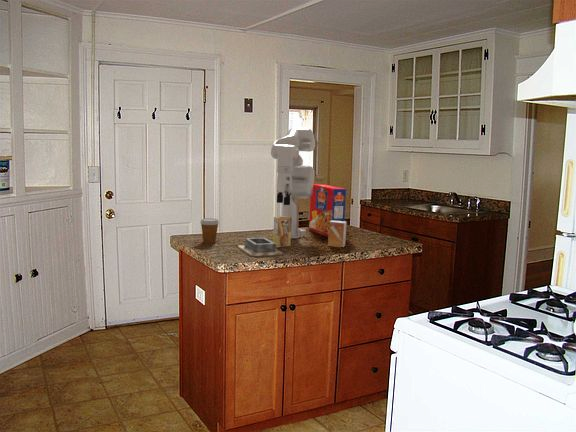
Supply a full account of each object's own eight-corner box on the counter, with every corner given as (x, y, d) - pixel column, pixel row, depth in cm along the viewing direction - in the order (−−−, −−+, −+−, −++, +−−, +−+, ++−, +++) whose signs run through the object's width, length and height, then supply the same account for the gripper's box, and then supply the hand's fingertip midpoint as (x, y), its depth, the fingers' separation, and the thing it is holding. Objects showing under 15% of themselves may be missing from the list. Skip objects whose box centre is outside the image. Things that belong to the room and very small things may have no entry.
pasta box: (309, 229, 335) (311, 184, 331) (320, 229, 338) (322, 184, 334) (331, 238, 310) (333, 189, 306) (343, 237, 313) (346, 188, 309)
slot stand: (268, 246, 281) (268, 236, 280) (282, 254, 263) (282, 244, 262) (238, 247, 275) (238, 237, 274) (250, 256, 257) (250, 245, 256)
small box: (327, 246, 287) (328, 221, 285) (330, 244, 293) (331, 220, 291) (342, 247, 285) (344, 223, 283) (345, 245, 291) (346, 221, 289)
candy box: (285, 244, 287) (286, 215, 285) (290, 246, 284) (292, 216, 282) (272, 246, 282) (273, 216, 279) (277, 247, 278) (278, 217, 276)
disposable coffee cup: (196, 242, 285) (196, 219, 283) (210, 240, 291) (211, 217, 290) (207, 245, 278) (208, 221, 276) (222, 243, 285) (222, 220, 283)
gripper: (298, 171, 270) (296, 205, 273) (285, 169, 286) (283, 201, 289) (283, 171, 268) (282, 205, 270) (271, 168, 283) (270, 201, 286)
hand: (283, 203), depth 279 cm, fingers open, 9 cm apart
